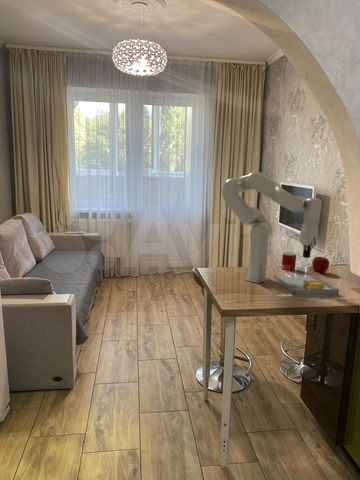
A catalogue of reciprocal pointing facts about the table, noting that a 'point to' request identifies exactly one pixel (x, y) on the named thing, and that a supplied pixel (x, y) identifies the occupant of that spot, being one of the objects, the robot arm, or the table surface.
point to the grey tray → (301, 291)
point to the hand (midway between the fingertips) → (306, 257)
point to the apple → (320, 264)
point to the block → (313, 284)
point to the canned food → (288, 261)
